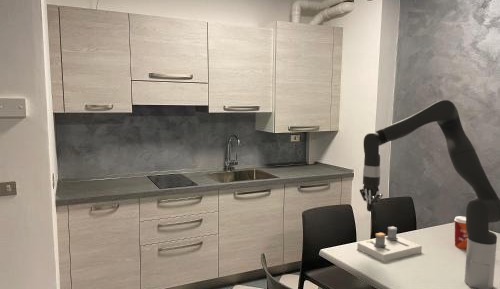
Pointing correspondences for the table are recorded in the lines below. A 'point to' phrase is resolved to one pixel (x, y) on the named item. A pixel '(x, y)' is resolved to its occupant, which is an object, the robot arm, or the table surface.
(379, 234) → the orange and grey block
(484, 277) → the robot arm
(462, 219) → the paper cup
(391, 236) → the on lever
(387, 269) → the table surface
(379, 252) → the switch box
